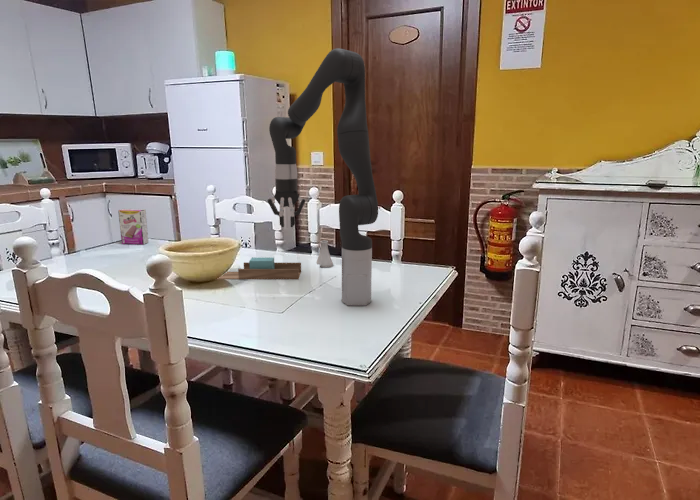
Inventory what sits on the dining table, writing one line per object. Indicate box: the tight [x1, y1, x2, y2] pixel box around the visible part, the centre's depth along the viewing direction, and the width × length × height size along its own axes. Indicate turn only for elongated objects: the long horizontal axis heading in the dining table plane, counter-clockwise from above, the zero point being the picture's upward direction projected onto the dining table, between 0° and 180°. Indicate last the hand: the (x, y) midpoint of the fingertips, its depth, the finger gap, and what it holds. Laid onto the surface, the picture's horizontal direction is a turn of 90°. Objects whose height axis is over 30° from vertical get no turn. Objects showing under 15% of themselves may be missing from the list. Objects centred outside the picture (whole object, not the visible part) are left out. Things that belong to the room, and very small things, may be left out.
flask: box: [315, 239, 334, 268], centre depth 190 cm, size 7×7×10 cm
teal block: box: [248, 257, 275, 269], centre depth 172 cm, size 5×8×6 cm, turn 90°
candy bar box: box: [118, 208, 149, 246], centre depth 226 cm, size 11×5×16 cm, turn 84°
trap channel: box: [216, 262, 302, 280], centre depth 172 cm, size 10×31×5 cm, turn 90°
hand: (287, 226), depth 169 cm, fingers open, 2 cm apart
